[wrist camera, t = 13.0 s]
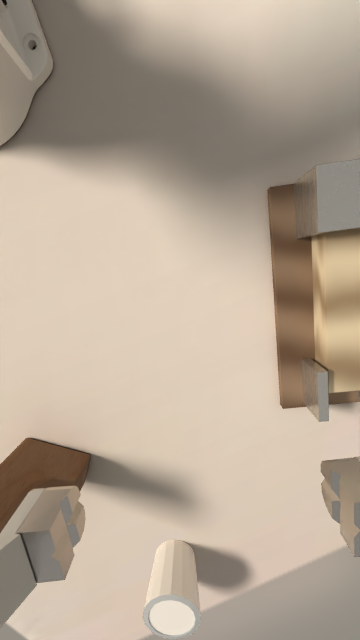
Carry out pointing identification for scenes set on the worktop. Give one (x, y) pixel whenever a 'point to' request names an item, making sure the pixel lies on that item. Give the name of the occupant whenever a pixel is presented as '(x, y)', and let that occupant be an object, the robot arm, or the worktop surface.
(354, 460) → the robot arm
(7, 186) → the worktop surface
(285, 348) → the base board
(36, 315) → the worktop surface
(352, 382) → the pine slat
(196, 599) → the white cylinder
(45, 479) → the wooden block
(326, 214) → the end caps
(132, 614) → the worktop surface
